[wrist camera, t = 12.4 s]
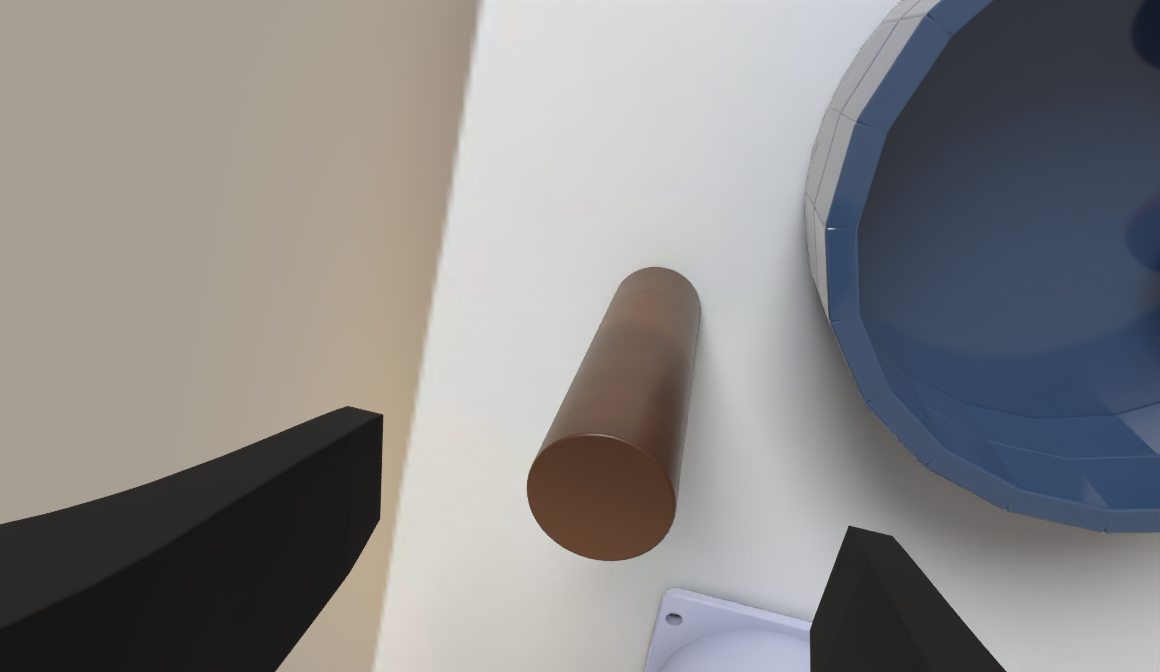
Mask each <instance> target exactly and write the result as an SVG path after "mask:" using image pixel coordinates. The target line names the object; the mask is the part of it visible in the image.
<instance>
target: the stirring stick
mask: <svg viewBox="0 0 1160 672" xmlns="http://www.w3.org/2000/svg"><path fill="white" fill-rule="evenodd" d="M700 311H701V307H700V301H699V297H698V295H697V292H696V290H695V289H694V287H693V286H692V284H691V283H690V282H689V281H688V280H687V279H686V278H685V277H683V276H682V275H681V274H679V273H677V272H675V271H673V270H670V269H666V268H661V267H651V268H645V269H641V270H639V271H636V272H634V273H632V274H631V275H630V276H628V277H627V278H626V279H625V280H624V281H623V282H622V283H621V284H620V286H619V288H618V289H617V291H616V293H615V295H614V297H613V299H612V301H611V304H610V306H609V308H608V310H607V312H606V314H605V316H604V318H603V320H602V322H601V324H600V326H599V328H598V330H597V332H596V334H595V336H594V339H593V341H592V343H591V345H590V347H589V349H588V351H587V353H586V355H585V357H584V359H583V361H582V363H581V365H580V367H579V369H578V371H577V374H576V376H575V378H574V380H573V382H572V384H571V386H570V388H569V390H568V392H567V394H566V396H565V398H564V400H563V402H562V404H561V406H560V408H559V411H558V413H557V415H556V417H555V419H554V421H553V423H552V425H551V427H550V429H549V431H548V433H547V435H546V437H545V439H544V441H543V443H542V446H541V448H540V450H539V452H538V454H537V456H536V458H535V460H534V462H533V464H532V466H531V469H530V471H529V475H528V480H527V497H528V501H529V505H530V508H531V511H532V513H533V516H534V517H535V519H536V521H537V523H538V524H539V525H540V527H541V528H542V529H543V531H544V532H545V533H546V534H547V535H548V536H549V537H550V538H551V539H553V540H554V541H555V542H556V543H558V544H559V545H560V546H562V547H563V548H565V549H567V550H569V551H571V552H573V553H575V554H577V555H580V556H583V557H586V558H590V559H595V560H602V561H619V560H626V559H630V558H634V557H637V556H640V555H642V554H644V553H646V552H648V551H650V550H651V549H652V548H654V547H655V546H656V545H658V544H659V543H660V542H661V541H662V540H663V539H664V537H665V536H666V535H667V533H668V532H669V530H670V528H671V526H672V524H673V521H674V518H675V513H676V506H677V498H678V490H679V482H680V473H681V465H682V457H683V449H684V441H685V433H686V425H687V417H688V409H689V401H690V393H691V385H692V377H693V369H694V361H695V353H696V345H697V337H698V329H699V321H700Z"/></svg>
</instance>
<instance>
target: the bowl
mask: <svg viewBox="0 0 1160 672" xmlns="http://www.w3.org/2000/svg"><path fill="white" fill-rule="evenodd" d="M805 194H806V202H805V222H806V237H807V246H808V250H809V266H810V269H811V273H812V276H813V279H814V282H815V285H816V288H817V290H818V293H819V296H820V299H821V302H822V305H823V307H824V310H825V313H826V316H827V319H828V321H829V324H830V327H831V329H832V331H833V334H834V336H835V339H836V341H837V343H838V346H839V348H840V350H841V353H842V355H843V357H844V360H845V362H846V364H847V367H848V369H849V371H850V374H851V376H852V378H853V381H854V383H855V385H856V388H857V390H858V392H859V395H860V397H861V400H862V401H864V403H865V406H866V407H867V408H868V409H869V410H870V411H871V412H872V413H873V414H874V415H875V416H876V417H877V418H878V419H879V420H880V421H881V423H882V424H883V425H884V426H885V427H886V428H887V429H888V430H889V431H890V432H891V433H892V434H893V435H894V436H895V437H896V438H897V439H898V441H899V442H900V443H901V444H902V445H903V446H904V447H905V448H906V449H907V450H908V451H909V452H910V453H911V454H912V455H913V456H914V458H915V459H916V460H917V461H918V462H919V463H920V464H922V465H924V466H925V468H927V469H929V470H931V471H932V472H934V473H936V474H938V475H940V476H942V477H943V478H945V479H947V480H949V481H951V482H953V483H955V484H956V485H958V486H960V487H962V488H964V489H966V490H967V491H969V492H971V493H973V494H975V495H977V496H978V497H980V498H982V499H984V500H986V501H988V502H989V503H991V504H993V505H995V506H997V507H999V508H1000V509H1003V510H1006V511H1008V512H1012V513H1016V514H1021V515H1025V516H1029V517H1034V518H1038V519H1042V520H1047V521H1051V522H1055V523H1060V524H1064V525H1069V526H1073V527H1077V528H1082V529H1086V530H1090V531H1095V532H1099V533H1102V532H1104V533H1160V0H902V1H901V2H900V3H899V4H898V5H897V6H896V7H895V8H894V9H893V10H892V11H891V12H890V13H889V14H888V15H887V16H886V18H885V19H884V20H883V21H882V23H881V24H880V25H879V26H878V28H877V29H876V30H875V31H874V33H873V34H872V35H871V36H870V37H869V39H868V40H867V41H866V42H865V44H864V45H863V46H862V48H861V49H860V51H859V53H858V54H857V56H856V57H855V59H854V60H853V62H852V64H851V65H850V67H849V68H848V70H847V71H846V73H845V74H844V76H843V78H842V79H841V81H840V84H839V86H838V88H837V90H836V92H835V94H834V96H833V98H832V100H831V102H830V104H829V106H828V108H827V110H826V112H825V115H824V118H823V121H822V124H821V127H820V130H819V133H818V136H817V139H816V142H815V145H814V148H813V153H812V158H811V163H810V168H809V173H808V177H807V186H806V193H805Z"/></svg>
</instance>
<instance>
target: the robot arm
mask: <svg viewBox="0 0 1160 672" xmlns="http://www.w3.org/2000/svg"><path fill="white" fill-rule="evenodd" d="M382 441H383V414H378V413H375V412H370V411H366V410H362V409H358V408H354V407H349V406H347V407H344V408H340V409H337V410H335V411H332V412H329V413H327V414H324V415H321V416H319V417H316V418H314V419H311V420H309V421H307V422H304V423H302V424H299V425H297V426H294V427H292V428H290V429H287V430H285V431H283V432H280V433H278V434H276V435H273V436H271V437H268V438H266V439H263V440H261V441H258V442H256V443H254V444H251V445H248V446H246V447H244V448H241V449H239V450H236V451H234V452H231V453H229V454H226V455H224V456H221V457H219V458H216V459H213V460H210V461H208V462H205V463H202V464H200V465H197V466H194V467H191V468H189V469H186V470H183V471H181V472H178V473H175V474H173V475H170V476H167V477H164V478H162V479H159V480H156V481H154V482H151V483H148V484H145V485H142V486H139V487H136V488H133V489H129V490H126V491H123V492H120V493H117V494H114V495H110V496H107V497H104V498H100V499H97V500H93V501H90V502H87V503H83V504H80V505H76V506H73V507H69V508H66V509H62V510H58V511H54V512H51V513H47V514H43V515H39V516H34V517H30V518H25V519H21V520H17V521H13V522H8V523H4V524H0V672H275V671H276V670H277V669H278V667H279V666H280V665H281V663H282V662H283V661H284V659H285V658H286V657H287V655H288V654H289V653H290V652H291V650H292V649H293V647H294V646H295V645H296V644H297V642H298V641H299V640H300V638H301V637H302V636H303V634H304V633H305V632H306V630H307V629H308V628H309V627H310V625H311V624H312V623H313V621H314V620H315V618H316V617H317V616H318V615H319V613H320V612H321V611H322V609H323V608H324V607H325V605H326V604H327V602H328V601H329V600H330V599H331V597H332V596H333V595H334V593H335V592H336V591H337V589H338V588H339V587H340V585H341V584H342V582H343V581H344V580H345V578H346V577H347V576H348V574H349V573H350V571H351V569H352V568H353V566H354V564H355V562H356V561H357V559H358V558H359V556H360V554H361V552H362V551H363V549H364V547H365V545H366V544H367V541H368V540H369V538H370V536H371V534H372V533H373V531H374V529H375V527H376V525H377V524H378V522H379V520H380V507H381V474H382ZM671 613H676V614H678V615H680V616H679V617H673V616H671V615H669V614H671ZM644 672H1006V671H1005V669H1004V668H1003V667H1002V666H1001V665H1000V664H999V663H998V662H997V660H996V659H995V658H994V657H993V656H992V655H991V653H990V652H989V651H988V650H987V649H986V648H985V647H984V645H983V644H982V643H981V642H980V641H979V640H978V638H977V637H976V636H975V635H974V634H973V632H972V631H971V630H970V629H969V628H968V627H967V625H966V624H965V623H964V622H963V620H962V619H961V618H960V617H959V616H958V614H957V613H956V612H955V611H954V610H953V608H952V607H951V606H950V605H949V604H948V602H947V601H946V600H945V599H944V597H943V596H942V595H941V594H940V593H939V591H938V590H937V589H936V588H935V586H934V585H933V584H932V583H931V581H930V580H929V579H928V578H927V577H926V575H925V574H924V573H923V572H922V570H921V569H920V568H919V567H918V566H917V564H916V563H915V562H914V561H913V559H912V558H911V557H910V556H909V555H908V553H907V552H906V551H905V550H904V549H903V548H902V546H901V545H900V544H899V543H898V542H897V541H896V540H895V538H894V537H893V536H890V535H886V534H882V533H877V532H873V531H869V530H865V529H861V528H856V527H852V526H848V529H847V532H846V534H845V537H844V540H843V542H842V545H841V548H840V550H839V553H838V556H837V558H836V561H835V564H834V566H833V569H832V572H831V574H830V577H829V580H828V582H827V585H826V588H825V591H824V593H823V596H822V599H821V601H820V604H819V607H818V609H817V612H816V615H815V617H814V620H813V622H809V621H805V620H801V619H797V618H793V617H789V616H785V615H782V614H778V613H774V612H770V611H766V610H762V609H758V608H754V607H751V606H747V605H743V604H739V603H735V602H731V601H727V600H723V599H720V598H716V597H712V596H708V595H704V594H700V593H696V592H692V591H689V590H685V589H681V588H672V589H669V590H667V591H666V592H665V593H664V594H663V596H662V600H661V604H660V608H659V612H658V616H657V620H656V624H655V628H654V632H653V636H652V640H651V644H650V648H649V652H648V656H647V660H646V664H645V668H644Z"/></svg>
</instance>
